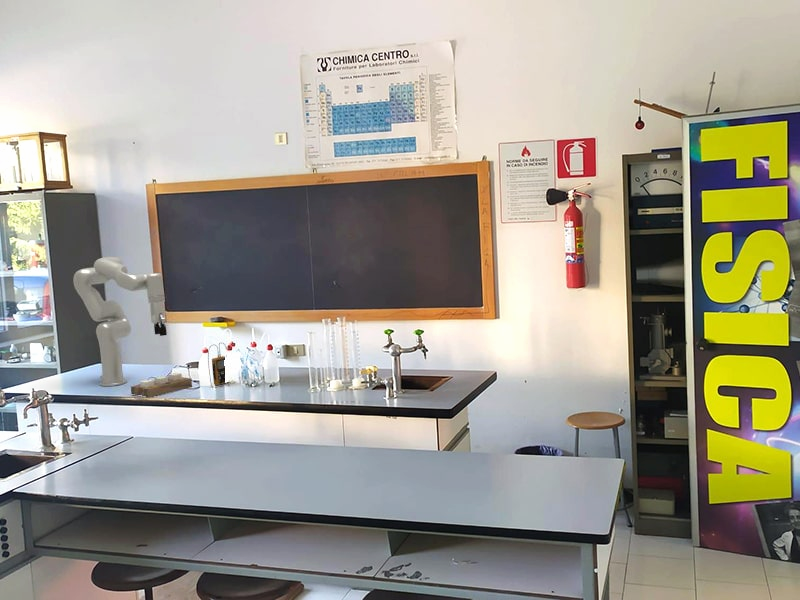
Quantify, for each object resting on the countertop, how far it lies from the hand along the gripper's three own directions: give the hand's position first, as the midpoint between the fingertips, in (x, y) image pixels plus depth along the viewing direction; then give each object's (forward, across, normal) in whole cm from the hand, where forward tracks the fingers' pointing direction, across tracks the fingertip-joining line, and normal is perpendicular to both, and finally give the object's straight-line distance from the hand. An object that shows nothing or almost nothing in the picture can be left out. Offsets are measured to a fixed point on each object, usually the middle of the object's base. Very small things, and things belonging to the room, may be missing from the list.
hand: (160, 334), depth 363 cm
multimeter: (+27, +14, +25) cm, 39 cm away
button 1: (+24, +8, -11) cm, 28 cm away
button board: (+26, +5, -4) cm, 27 cm away
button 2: (+24, +2, +4) cm, 25 cm away
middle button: (+24, +5, -4) cm, 25 cm away
